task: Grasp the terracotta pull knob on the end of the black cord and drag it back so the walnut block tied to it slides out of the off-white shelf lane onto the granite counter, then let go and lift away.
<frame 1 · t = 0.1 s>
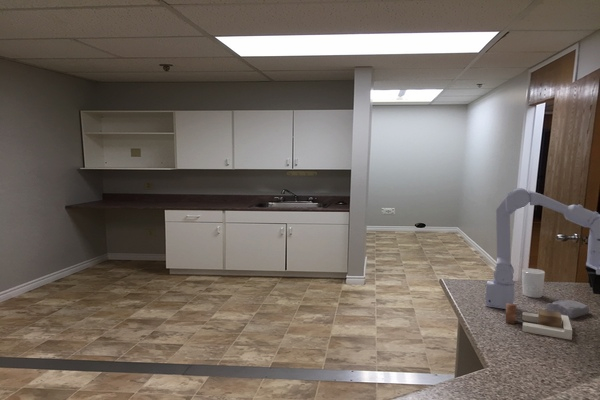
hand: (595, 290, 136), 10 cm above the countertop, tool pointing down, fingers open, 7 cm apart
white cup: (532, 295, 162), on the countertop
stone block: (565, 313, 144), on the countertop
shelf lane: (541, 327, 130), on the countertop
string block: (549, 328, 129), on the countertop
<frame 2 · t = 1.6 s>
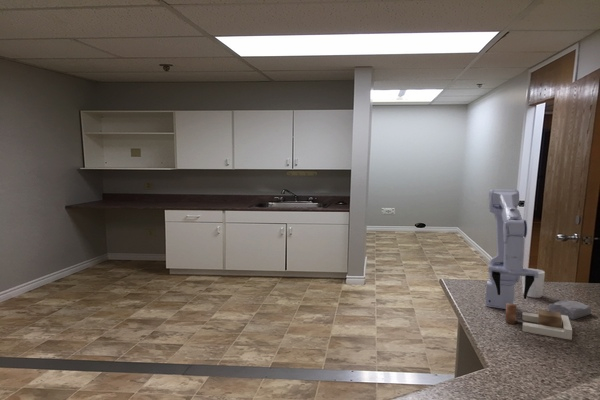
hand: (511, 296, 134), 9 cm above the countertop, tool pointing down, fingers open, 7 cm apart
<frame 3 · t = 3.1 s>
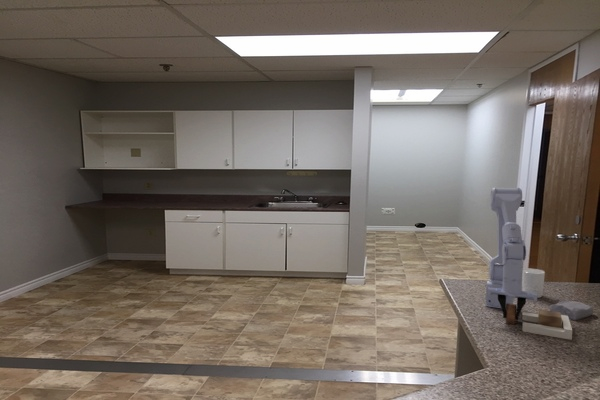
hand: (510, 318, 134), 1 cm above the countertop, tool pointing down, fingers closed on string block, 3 cm apart
string block: (549, 328, 129), on the countertop, touching gripper
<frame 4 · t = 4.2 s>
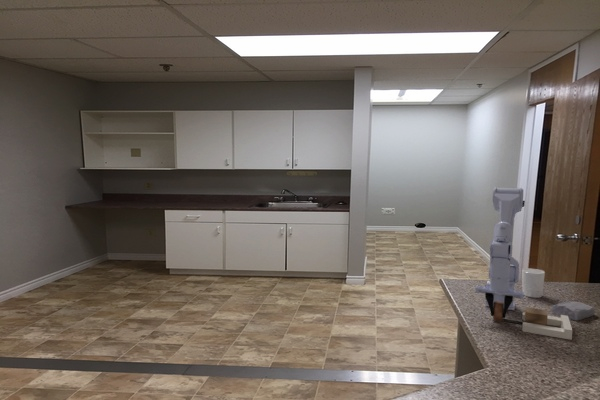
hand: (498, 316, 136), 1 cm above the countertop, tool pointing down, fingers closed on string block, 3 cm apart
string block: (535, 326, 131), on the countertop, touching gripper
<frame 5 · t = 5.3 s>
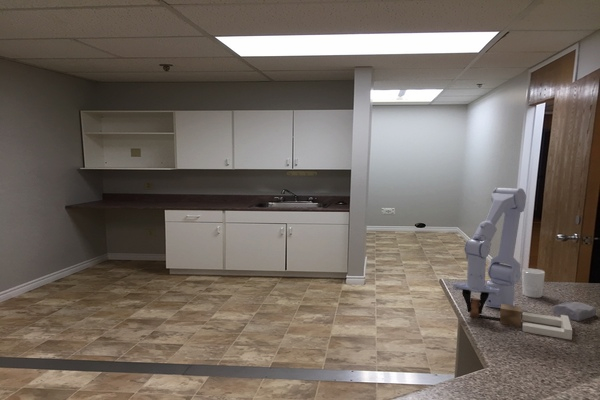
hand: (474, 312, 140), 1 cm above the countertop, tool pointing down, fingers closed on string block, 3 cm apart
string block: (510, 322, 135), on the countertop, touching gripper
when the fingers open (2 cm above the countertop, at t = 6.8 s): string block stays where it is, on the countertop.
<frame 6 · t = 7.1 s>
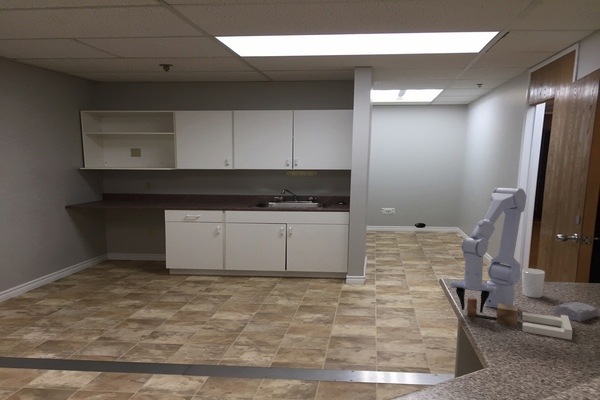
hand: (472, 310, 140), 2 cm above the countertop, tool pointing down, fingers open, 5 cm apart
string block: (506, 321, 135), on the countertop
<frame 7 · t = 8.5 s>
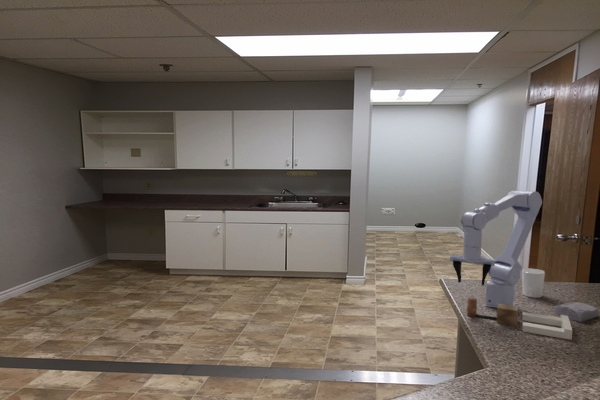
hand: (471, 283, 143), 10 cm above the countertop, tool pointing down, fingers open, 7 cm apart
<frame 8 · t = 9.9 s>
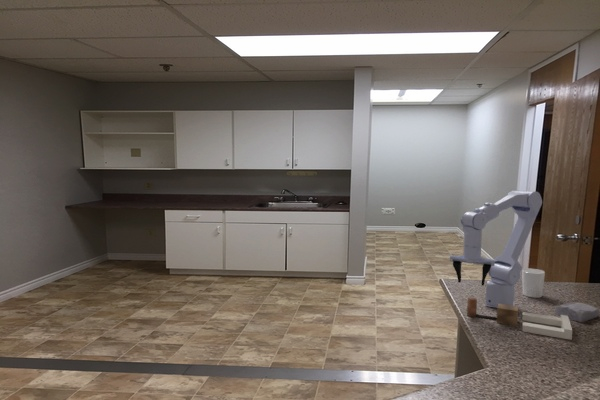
hand: (471, 283, 143), 10 cm above the countertop, tool pointing down, fingers open, 7 cm apart
at the end: string block inside the target area (2.9 cm from its centre), on the countertop; the gripper is holding nothing; string block tilted 0° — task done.
